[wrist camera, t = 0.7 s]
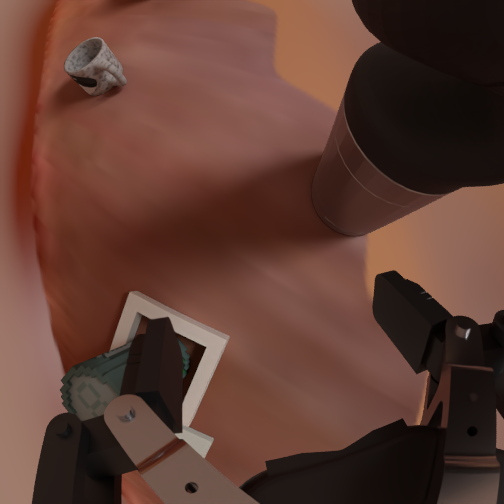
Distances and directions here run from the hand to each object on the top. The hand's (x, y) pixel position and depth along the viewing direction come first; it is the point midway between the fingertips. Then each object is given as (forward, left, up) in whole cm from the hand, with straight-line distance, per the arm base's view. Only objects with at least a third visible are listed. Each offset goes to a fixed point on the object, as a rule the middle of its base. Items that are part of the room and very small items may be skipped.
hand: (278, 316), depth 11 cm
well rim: (+12, -8, -20) cm, 25 cm away
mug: (-18, -33, -21) cm, 43 cm away
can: (+12, -8, -21) cm, 25 cm away
